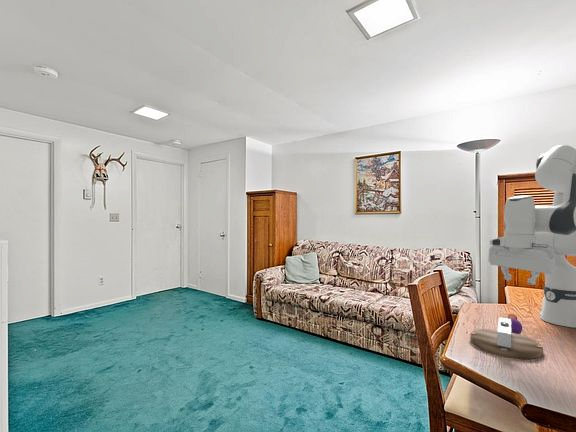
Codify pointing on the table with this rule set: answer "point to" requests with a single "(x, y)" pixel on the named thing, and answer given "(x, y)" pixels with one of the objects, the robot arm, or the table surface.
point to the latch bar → (504, 332)
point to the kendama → (515, 324)
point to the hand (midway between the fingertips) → (519, 281)
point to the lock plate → (519, 347)
